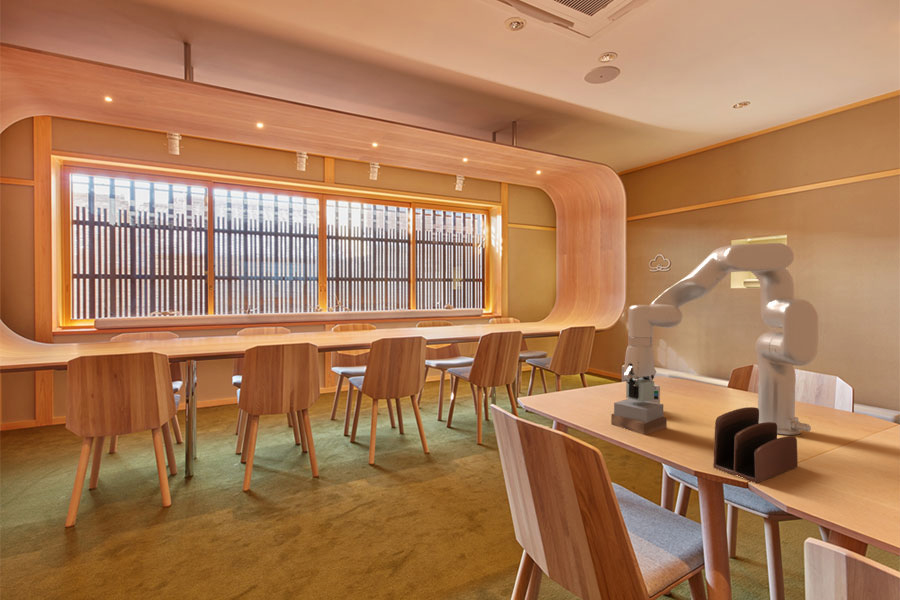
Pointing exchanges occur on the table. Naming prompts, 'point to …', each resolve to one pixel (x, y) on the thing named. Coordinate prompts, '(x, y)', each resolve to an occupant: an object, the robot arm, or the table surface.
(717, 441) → the letter holder
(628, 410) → the grey slab
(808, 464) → the table surface
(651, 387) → the blue-grey block
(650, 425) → the walnut slab
